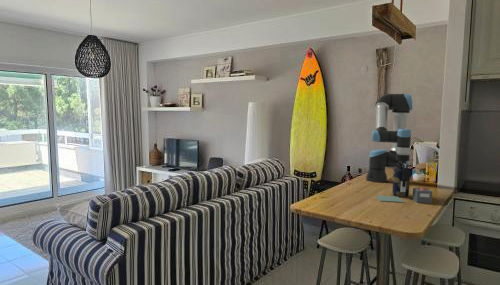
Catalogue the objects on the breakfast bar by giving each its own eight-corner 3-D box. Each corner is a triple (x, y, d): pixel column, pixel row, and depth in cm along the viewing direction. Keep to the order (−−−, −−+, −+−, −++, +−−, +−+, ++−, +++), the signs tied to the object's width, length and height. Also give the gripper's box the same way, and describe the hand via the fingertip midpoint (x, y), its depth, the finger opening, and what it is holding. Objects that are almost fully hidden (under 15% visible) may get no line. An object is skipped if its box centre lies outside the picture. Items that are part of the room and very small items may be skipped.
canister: (410, 198, 205) (412, 168, 204) (393, 197, 207) (395, 167, 205) (406, 194, 215) (408, 166, 213) (390, 193, 216) (392, 165, 215)
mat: (375, 196, 208) (375, 195, 208) (398, 197, 206) (398, 196, 206) (380, 201, 197) (380, 200, 197) (403, 202, 195) (403, 201, 194)
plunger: (417, 198, 201) (418, 186, 200) (424, 198, 200) (424, 187, 199) (419, 200, 197) (420, 188, 196) (426, 200, 196) (427, 188, 196)
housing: (412, 199, 203) (413, 187, 203) (426, 199, 202) (427, 188, 201) (416, 202, 195) (417, 190, 194) (431, 203, 194) (432, 191, 193)
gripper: (391, 151, 220) (389, 185, 222) (401, 156, 198) (399, 193, 200) (404, 152, 219) (402, 186, 221) (415, 156, 197) (412, 194, 199)
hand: (400, 189), depth 210 cm, fingers closed on canister, 9 cm apart
